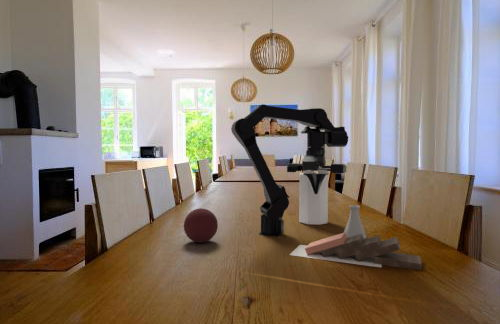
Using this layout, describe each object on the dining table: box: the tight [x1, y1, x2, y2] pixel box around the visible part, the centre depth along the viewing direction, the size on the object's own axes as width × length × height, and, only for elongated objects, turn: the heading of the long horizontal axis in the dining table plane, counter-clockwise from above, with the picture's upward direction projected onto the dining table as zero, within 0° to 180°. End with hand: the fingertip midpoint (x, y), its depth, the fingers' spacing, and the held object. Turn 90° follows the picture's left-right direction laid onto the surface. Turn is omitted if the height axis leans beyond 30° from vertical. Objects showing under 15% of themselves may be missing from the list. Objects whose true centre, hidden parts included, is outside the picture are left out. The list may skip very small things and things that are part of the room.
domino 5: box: [374, 251, 422, 271], centre depth 79 cm, size 2×6×10 cm
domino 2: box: [321, 234, 364, 257], centre depth 84 cm, size 2×6×10 cm
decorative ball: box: [183, 207, 219, 244], centre depth 98 cm, size 10×10×10 cm
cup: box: [298, 172, 329, 226], centre depth 125 cm, size 11×11×18 cm
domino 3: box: [338, 235, 382, 259], centre depth 82 cm, size 2×6×10 cm
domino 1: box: [305, 231, 347, 255], centre depth 86 cm, size 2×6×10 cm
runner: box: [289, 244, 383, 268], centre depth 85 cm, size 22×10×1 cm, turn 66°
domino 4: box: [355, 236, 400, 261], centre depth 80 cm, size 2×6×10 cm
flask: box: [343, 204, 368, 239], centre depth 103 cm, size 7×7×10 cm
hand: (316, 194), depth 110 cm, fingers closed
